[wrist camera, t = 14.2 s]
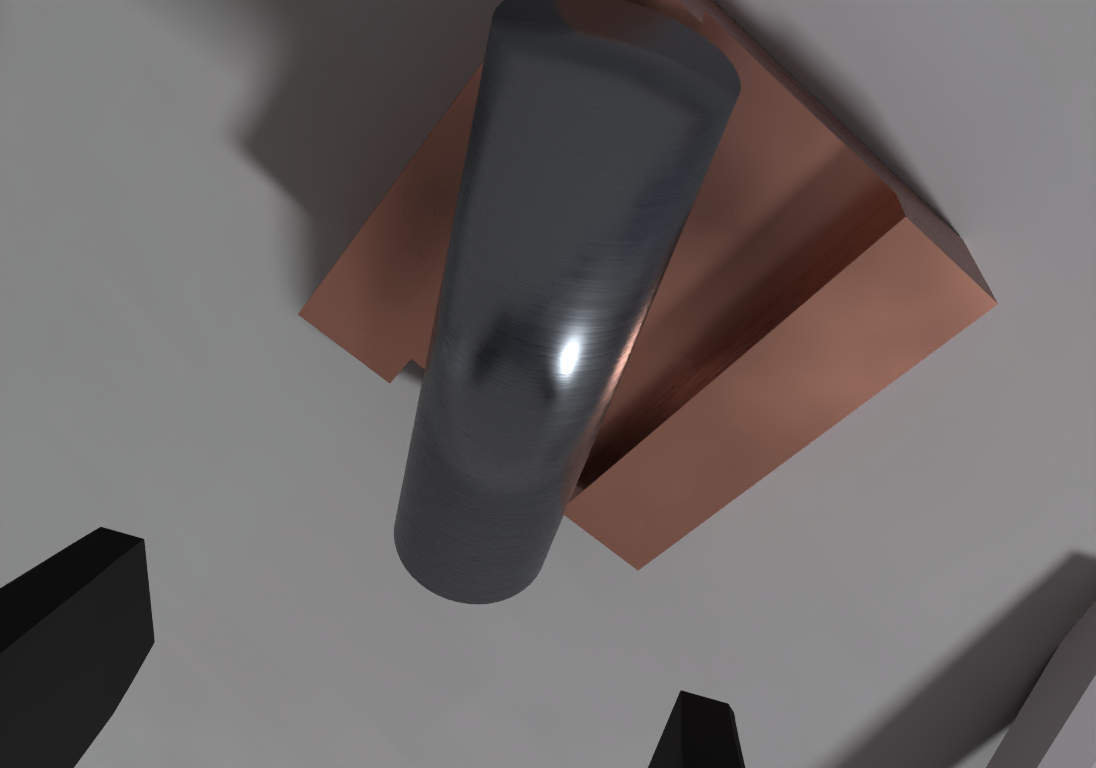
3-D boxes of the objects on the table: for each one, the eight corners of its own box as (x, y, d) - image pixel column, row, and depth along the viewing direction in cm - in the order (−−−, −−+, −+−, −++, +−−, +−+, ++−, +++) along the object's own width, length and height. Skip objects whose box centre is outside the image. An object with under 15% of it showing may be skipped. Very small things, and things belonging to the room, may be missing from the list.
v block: (962, 239, 15) (997, 304, 13) (649, 490, 19) (637, 570, 17) (612, -97, 13) (589, -84, 11) (350, 257, 18) (297, 313, 15)
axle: (480, -28, 11) (507, 94, 9) (703, 12, 12) (775, 134, 10) (392, 472, 18) (396, 605, 16) (535, 476, 19) (556, 603, 17)
